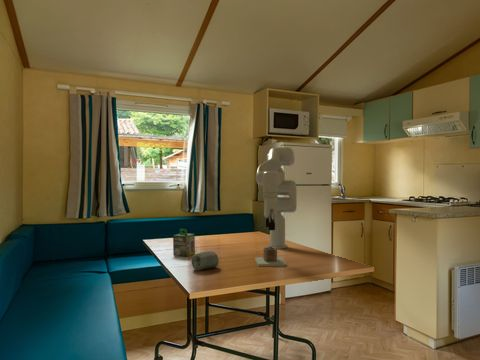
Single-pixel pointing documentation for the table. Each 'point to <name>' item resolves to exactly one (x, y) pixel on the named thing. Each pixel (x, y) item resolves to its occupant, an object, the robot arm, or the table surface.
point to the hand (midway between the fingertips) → (270, 228)
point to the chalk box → (184, 244)
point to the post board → (261, 262)
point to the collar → (270, 254)
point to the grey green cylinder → (204, 260)
